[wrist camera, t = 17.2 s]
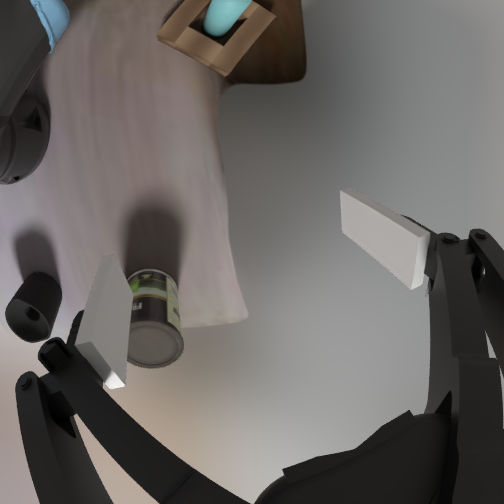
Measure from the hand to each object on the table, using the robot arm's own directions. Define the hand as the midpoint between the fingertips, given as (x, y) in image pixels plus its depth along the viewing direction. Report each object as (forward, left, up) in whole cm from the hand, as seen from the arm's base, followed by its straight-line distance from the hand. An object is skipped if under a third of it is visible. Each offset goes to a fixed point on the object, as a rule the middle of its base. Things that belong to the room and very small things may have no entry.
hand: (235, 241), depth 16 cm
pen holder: (-15, -35, -31) cm, 49 cm away
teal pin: (-9, +19, -30) cm, 37 cm away
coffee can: (+5, -25, -31) cm, 40 cm away
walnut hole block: (-9, +19, -31) cm, 37 cm away
